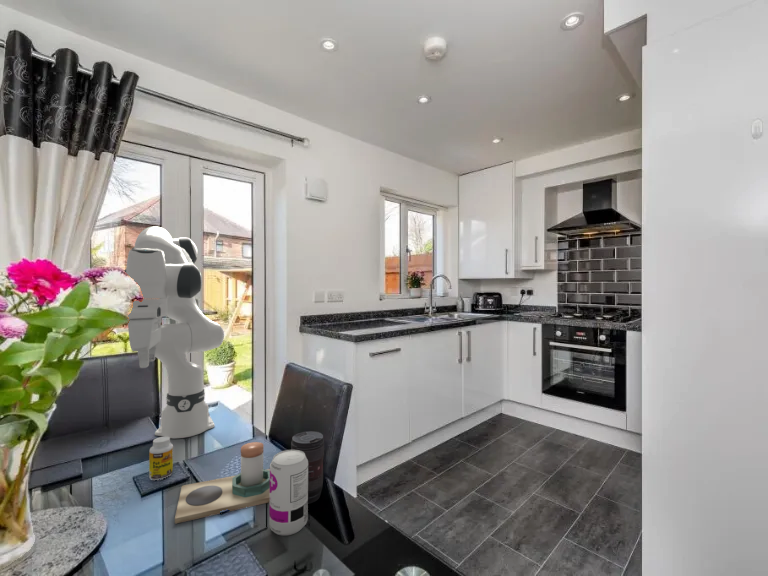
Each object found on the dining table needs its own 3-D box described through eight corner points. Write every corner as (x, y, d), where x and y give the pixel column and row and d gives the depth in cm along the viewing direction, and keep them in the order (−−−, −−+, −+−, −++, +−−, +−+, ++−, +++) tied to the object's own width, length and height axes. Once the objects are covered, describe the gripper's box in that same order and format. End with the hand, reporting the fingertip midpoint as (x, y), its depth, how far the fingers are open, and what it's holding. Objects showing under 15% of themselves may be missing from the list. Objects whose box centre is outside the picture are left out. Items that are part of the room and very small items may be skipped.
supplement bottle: (149, 483, 94) (149, 445, 94) (149, 474, 99) (149, 437, 99) (173, 477, 97) (173, 440, 97) (172, 468, 102) (172, 433, 102)
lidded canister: (239, 482, 93) (240, 444, 93) (262, 478, 95) (262, 440, 95) (241, 493, 88) (241, 453, 88) (264, 488, 90) (264, 448, 90)
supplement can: (268, 540, 73) (269, 468, 73) (269, 516, 81) (270, 450, 81) (308, 533, 76) (309, 463, 76) (306, 510, 84) (306, 446, 84)
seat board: (181, 490, 91) (182, 477, 91) (271, 472, 100) (271, 461, 100) (174, 523, 78) (174, 509, 78) (277, 500, 87) (278, 487, 87)
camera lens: (330, 493, 90) (330, 435, 90) (306, 510, 84) (307, 446, 84) (307, 483, 95) (308, 427, 95) (283, 498, 88) (284, 438, 88)
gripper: (140, 309, 99) (140, 359, 99) (122, 312, 81) (123, 373, 81) (166, 308, 102) (167, 357, 102) (155, 311, 84) (156, 369, 83)
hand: (147, 364), depth 91 cm, fingers open, 8 cm apart
